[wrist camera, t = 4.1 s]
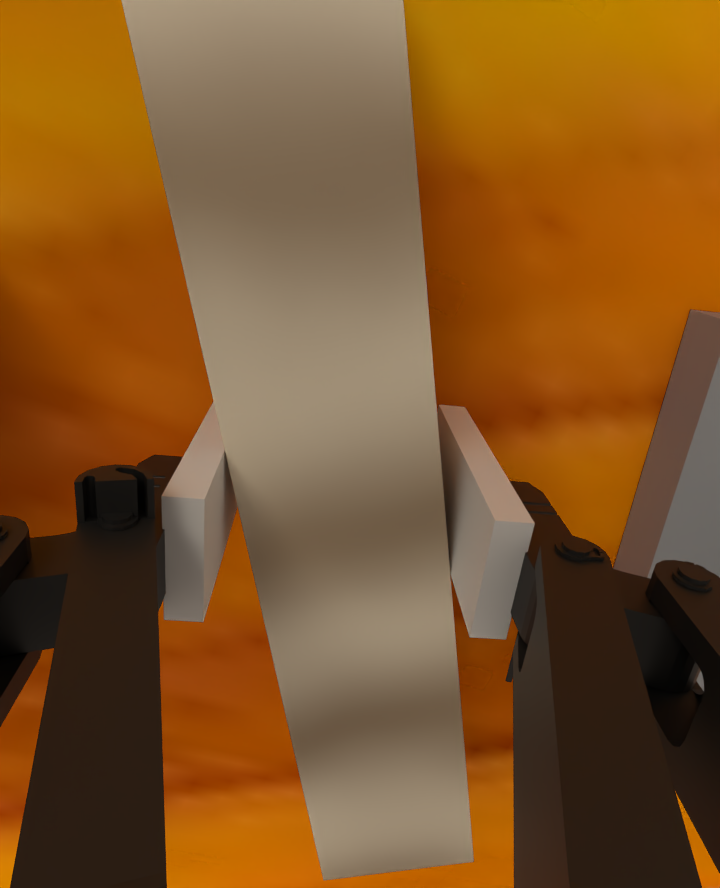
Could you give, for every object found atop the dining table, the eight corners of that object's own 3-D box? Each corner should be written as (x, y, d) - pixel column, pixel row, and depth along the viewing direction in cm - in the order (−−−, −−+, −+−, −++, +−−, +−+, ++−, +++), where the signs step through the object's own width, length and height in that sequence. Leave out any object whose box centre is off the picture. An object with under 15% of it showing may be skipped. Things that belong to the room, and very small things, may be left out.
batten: (168, -45, 14) (83, -166, 9) (368, -72, 14) (385, -209, 9) (325, 741, 23) (323, 880, 18) (445, 725, 23) (473, 861, 18)
